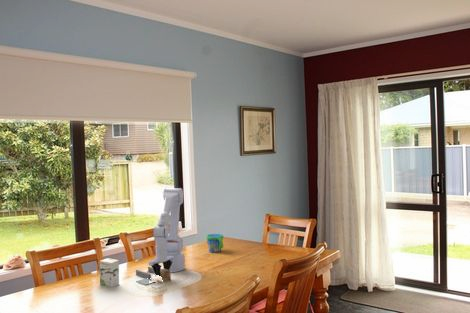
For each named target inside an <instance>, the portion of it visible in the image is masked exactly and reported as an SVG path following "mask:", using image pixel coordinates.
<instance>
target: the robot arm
mask: <svg viewBox="0 0 470 313" xmlns="http://www.w3.org/2000/svg"><path fill="white" fill-rule="evenodd" d="M184 195H185V194H184V189H183V188H181V187H178V188H173V187H171V188H170V187H164V189H163V191H162V196H163V200H164V202H163V203H164V205H163V210H162V212H161V213H160V214H159V216H158V217H159V218H158V220H157V223H156V226H154V227H153V231H152V232H153V233H152V234H153V237H154V242H155V258H154V259H152V260H150V261H148V267H152V268H153V270H154V272H155V274H156V275H159V276H160V269H162V265H163V268H164V269H168V270H170V272H171V274H173V273H176V272H180V271H184V270H186V269H187V268H186V267H185V266H186V261H185V254H184V252H183V250H184V243H183V242H184V241H183V240H184V239H183V238H182V237H181V236H180V235H179V223H180V210H181V209H180V208H181V205H182V204H183V202H184ZM160 264H161V265H160ZM155 274H154V275H155ZM156 275H155V276H156Z"/></svg>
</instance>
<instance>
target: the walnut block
mask: <svg viewBox="0 0 470 313" xmlns="http://www.w3.org/2000/svg"><path fill="white" fill-rule="evenodd" d="M171 274H172V273H171V272H170V270H168V269H164V267H163V268H161V269H160V276H161V277H162V280H163V282H164V283H167V282H170V281H171V280H172V279H171ZM163 282H162V283H163Z"/></svg>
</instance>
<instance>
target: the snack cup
mask: <svg viewBox="0 0 470 313" xmlns="http://www.w3.org/2000/svg"><path fill="white" fill-rule="evenodd" d="M205 237H206V242H207V245H208V246H207V247H208V251H209V252H210V253H212V254H213V253H215V254H216V253H220V252H222V249H223V248H224V242H223V239H224V235H223V234H221V233H211V234H210V233H209V234H206V236H205Z"/></svg>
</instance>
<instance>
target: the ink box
mask: <svg viewBox="0 0 470 313" xmlns="http://www.w3.org/2000/svg"><path fill="white" fill-rule="evenodd" d="M119 261H120V260H118V259H114V258H109V257H108V258H104V259H100V260H99V284H100V285H102V286H107V287H111V288H112V287H115V286H117V285H119V284H120V262H119Z"/></svg>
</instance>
